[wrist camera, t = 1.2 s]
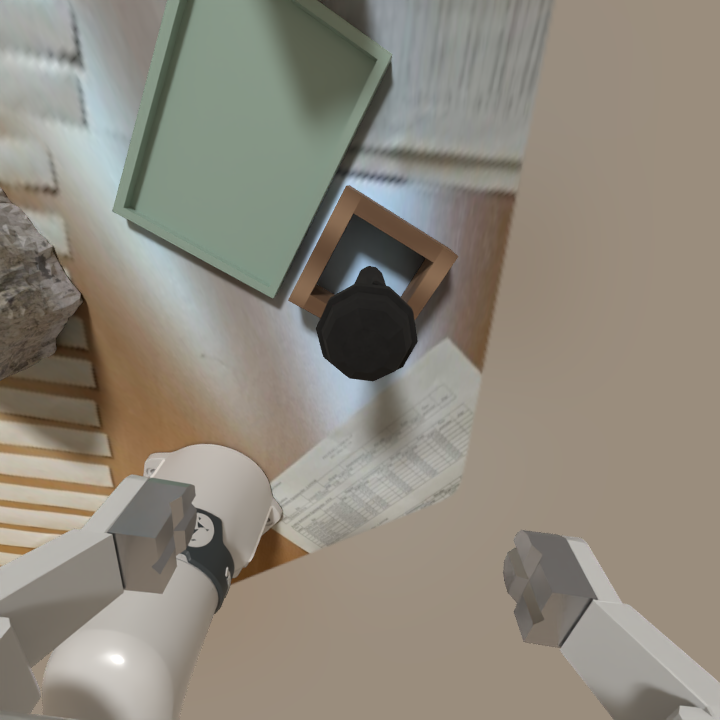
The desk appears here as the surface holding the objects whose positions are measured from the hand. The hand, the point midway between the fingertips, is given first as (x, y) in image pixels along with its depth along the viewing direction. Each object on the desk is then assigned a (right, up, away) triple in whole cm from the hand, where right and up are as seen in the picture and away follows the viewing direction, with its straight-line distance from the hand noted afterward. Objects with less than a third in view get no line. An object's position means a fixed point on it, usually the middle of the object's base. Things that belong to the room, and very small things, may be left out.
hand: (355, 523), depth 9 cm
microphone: (+1, +13, +28) cm, 31 cm away
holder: (+1, +13, +27) cm, 30 cm away
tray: (-10, +23, +23) cm, 34 cm away
